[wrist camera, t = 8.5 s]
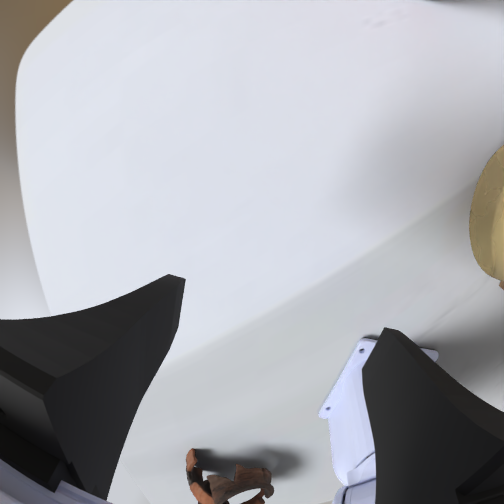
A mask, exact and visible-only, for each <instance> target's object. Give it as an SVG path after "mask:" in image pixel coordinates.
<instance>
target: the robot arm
mask: <svg viewBox="0 0 504 504" xmlns="http://www.w3.org/2000/svg"><path fill="white" fill-rule="evenodd" d="M185 280H186V279H184V278H181V277H177V276H174V275H170V274H168V275H165V276H163V277H161V278H159V279H157V280H155V281H153V282H151V283H149V284H147V285H145V286H143V287H141V288H139V289H137V290H135V291H133V292H131V293H128V294H126V295H123V296H121V297H119V298H116V299H114V300H111V301H109V302H106V303H104V304H101V305H98V306H95V307H91V308H88V309H84V310H81V311H77V312H72V313H67V314H61V315H56V316H51V317H43V318H34V319H19V320H1V319H0V504H112V503H110V502H107V501H106V500H107V497H108V493H109V489H110V486H111V483H112V479H113V476H114V473H115V469H116V467H117V463H118V460H119V457H120V454H121V451H122V449H123V446H124V443H125V440H126V438H127V435H128V432H129V429H130V427H131V424H132V422H133V419H134V417H135V414H136V412H137V409H138V407H139V404H140V402H141V400H142V398H143V396H144V394H145V392H146V391H147V389H148V387H149V385H150V383H151V382H152V380H153V378H154V376H155V375H156V373H157V371H158V369H159V367H160V366H161V364H162V362H163V360H164V358H165V357H166V355H167V353H168V351H169V349H170V347H171V344H172V342H173V339H174V337H175V334H176V332H177V329H178V326H179V319H180V312H181V305H182V299H183V293H184V286H185ZM362 348H364V349H363V350H360V349H362ZM438 357H439V354H438V352H437V351H435V350H429V349H423V348H419V347H418V346H417V345H416V344H415V343H414V342H413V341H411V340H410V339H409V338H408V337H407V336H406V335H404V334H403V333H402V332H400V331H399V330H395V329H390V328H385V327H384V329H383V331H382V333H381V335H380V337H379V339H378V340H373V339H368V338H364V339H361V340H360V341H359V342H358V344H357V346H356V348H355V350H354V352H353V354H352V355H351V357H350V359H349V361H348V363H347V365H346V366H345V368H344V370H343V372H342V374H341V375H340V377H339V379H338V381H337V383H336V384H335V386H334V388H333V389H332V391H331V393H330V394H329V396H328V398H327V400H326V401H325V403H324V404H323V406H322V408H321V409H320V411H319V417H320V418H325V419H328V422H329V431H330V441H331V451H332V462H333V468H334V472H335V474H336V476H337V477H338V479H339V480H340V481H341V482H342V483H343V484H344V485H345V486H344V487H342V488H340V489H339V490H338V491H337V493H336V495H335V498H334V500H333V502H332V504H504V412H502V411H500V410H498V409H497V408H495V407H493V406H491V405H490V404H488V403H486V402H485V401H483V400H482V399H480V398H479V397H477V396H476V395H474V394H473V393H471V392H470V391H469V390H467V389H466V388H465V387H463V386H462V385H461V384H459V383H458V382H457V381H456V380H455V379H453V378H452V377H451V376H450V375H449V374H448V373H446V372H445V371H444V370H443V369H442V368H441V367H440V366H439V365H437V364H436V363H435V362H436V361H437V359H438Z"/></svg>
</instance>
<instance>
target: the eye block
mask: <svg viewBox="0 0 504 504" xmlns="http://www.w3.org/2000/svg"><path fill="white" fill-rule="evenodd" d="M499 286H500V287H501V288H502V289H503V290H504V281H501V282H500V285H499Z"/></svg>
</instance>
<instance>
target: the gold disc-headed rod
mask: <svg viewBox="0 0 504 504" xmlns="http://www.w3.org/2000/svg"><path fill="white" fill-rule="evenodd" d="M469 231H470V241H471V247H472V251H473V254H474V256H475V259H476V261H477V263H478V264H479V266H480V267H481V269H482V270H483V271H484V272H485V273H487V274H488V275H489V276H491V277H493V278H496V279H498V280H501V281H504V145H503V146H502V147H501V148H500V149H498V150H497V151H496V153H495V154H494V155H493V156H492V157H491V159H490V160H489V161H488V163H487V165H486V166H485V168H484V170H483V172H482V174H481V176H480V178H479V181H478V183H477V186H476V189H475V192H474V196H473V200H472V204H471V211H470V221H469Z"/></svg>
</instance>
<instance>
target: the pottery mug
mask: <svg viewBox="0 0 504 504" xmlns="http://www.w3.org/2000/svg"><path fill="white" fill-rule="evenodd" d="M186 463H187V466H186V472H187V479H188V483H189V486H190V490H191V491H192V493H193V495H194V496H195V497H196V499H197V500H198V504H229V502H228V501H227V500H228V499H229V498H231V497H233V496H235V495H237V494H239V493H241V492H244V491H247V490H251V489H257V488H261V491H260V492H259V493H258V494H257V495H256V496H254V497H253V498H252V499H250V500H248V501H246V502H243V503H241V504H264V503H265V501H264V500H263V499H262V497H263V496H264V495H265V497H266V498H269V497H270V496H272V495H273V493H274V488H273V486H272V485H271V484H270V483H271V473H270V471H268V470H267V469H265V468H262V469H261V468H250V469H248V468H244V467H243V466H241V465H239V464H236V473H235V478H234V481H231V480H230V479H228V478H226V477H220V476H217V475H208V476H207V479H208V480H205V481H203V477H202V469H200V468H197V467H194V465H195V464H196V463H197V458H196V457H195V449H191V450H190V451H189V452H188V454H187V457H186Z"/></svg>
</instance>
